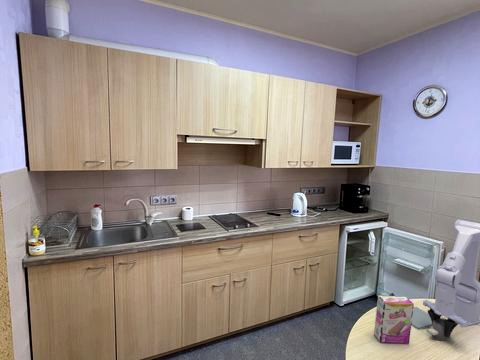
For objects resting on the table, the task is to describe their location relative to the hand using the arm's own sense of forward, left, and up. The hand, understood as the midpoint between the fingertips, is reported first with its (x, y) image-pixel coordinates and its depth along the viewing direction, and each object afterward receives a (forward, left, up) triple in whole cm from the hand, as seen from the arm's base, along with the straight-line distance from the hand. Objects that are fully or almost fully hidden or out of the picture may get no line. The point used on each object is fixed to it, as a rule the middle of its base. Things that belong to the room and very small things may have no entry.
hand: (441, 332), depth 99 cm
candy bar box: (+21, -4, -2) cm, 21 cm away
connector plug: (+1, 0, -2) cm, 2 cm away
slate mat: (-2, -11, -2) cm, 11 cm away
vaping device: (+12, -14, -2) cm, 19 cm away
